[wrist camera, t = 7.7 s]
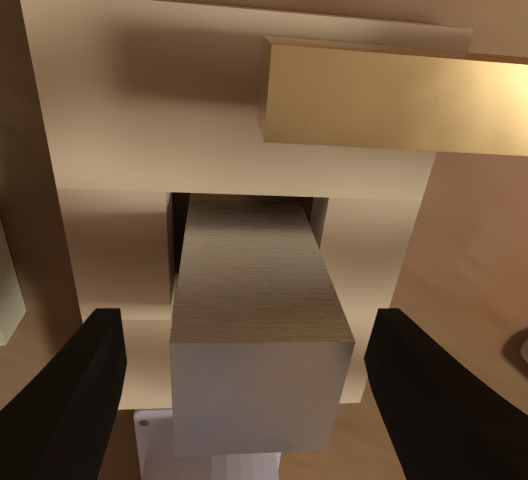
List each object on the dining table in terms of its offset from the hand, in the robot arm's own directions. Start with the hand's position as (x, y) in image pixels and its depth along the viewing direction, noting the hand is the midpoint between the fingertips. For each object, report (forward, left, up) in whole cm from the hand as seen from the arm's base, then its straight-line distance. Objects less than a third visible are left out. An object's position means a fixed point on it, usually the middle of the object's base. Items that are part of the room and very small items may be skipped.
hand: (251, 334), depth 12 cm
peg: (0, 0, -6) cm, 6 cm away
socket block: (0, 0, -6) cm, 6 cm away
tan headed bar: (+6, -5, -2) cm, 8 cm away
